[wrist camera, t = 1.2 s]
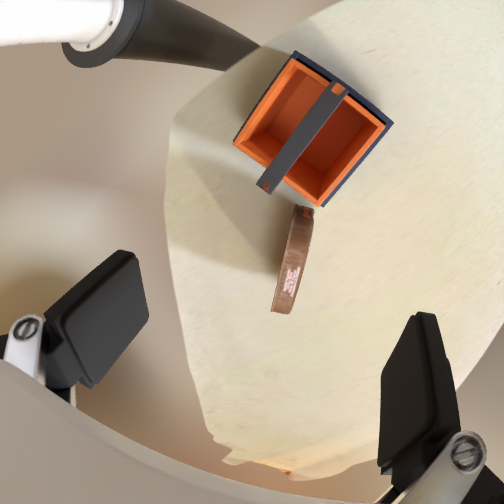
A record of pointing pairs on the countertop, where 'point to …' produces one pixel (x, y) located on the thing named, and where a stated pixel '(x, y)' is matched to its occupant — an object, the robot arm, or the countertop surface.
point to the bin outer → (351, 94)
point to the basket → (307, 133)
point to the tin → (293, 259)
